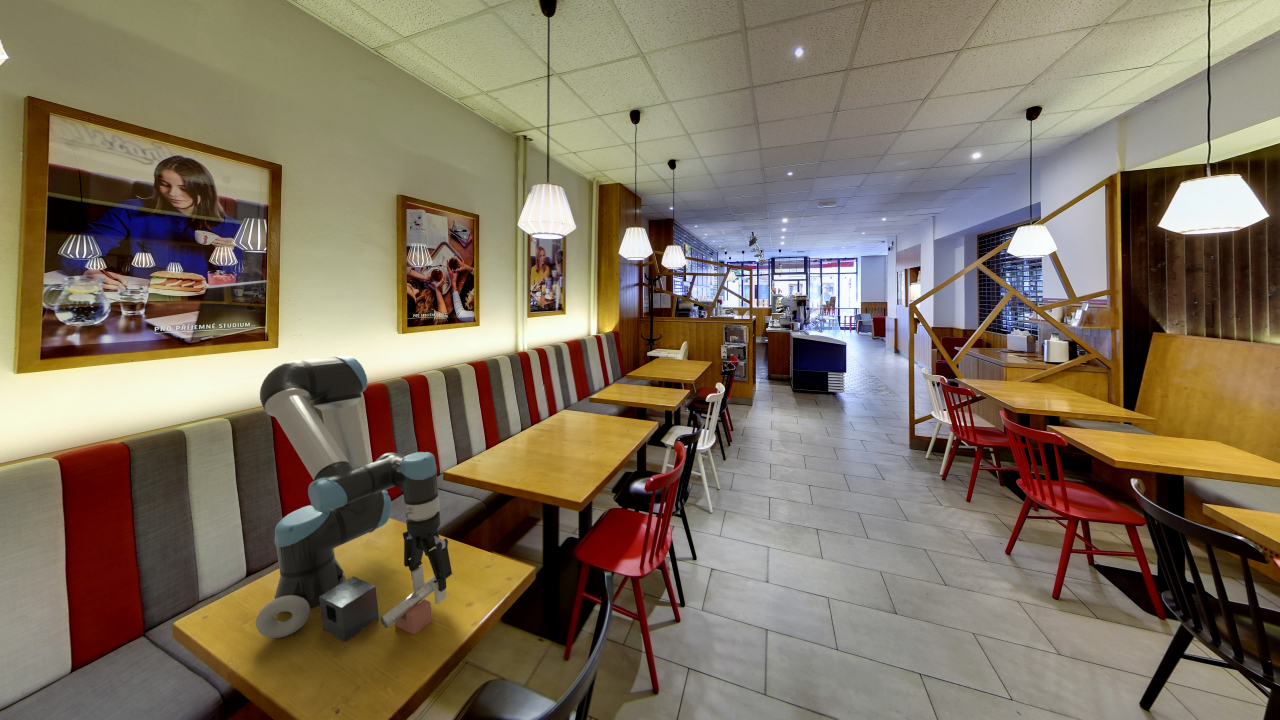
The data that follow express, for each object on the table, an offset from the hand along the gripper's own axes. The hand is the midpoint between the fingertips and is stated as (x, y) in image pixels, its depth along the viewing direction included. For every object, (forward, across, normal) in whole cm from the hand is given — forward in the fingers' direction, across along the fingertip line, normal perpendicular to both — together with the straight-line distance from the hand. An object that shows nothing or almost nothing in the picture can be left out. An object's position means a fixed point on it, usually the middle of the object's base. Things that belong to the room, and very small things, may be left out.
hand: (429, 596), depth 104 cm
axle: (-2, 0, -5) cm, 5 cm away
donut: (+4, -25, -20) cm, 32 cm away
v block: (+4, 0, -5) cm, 6 cm away
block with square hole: (+4, -14, -12) cm, 18 cm away
